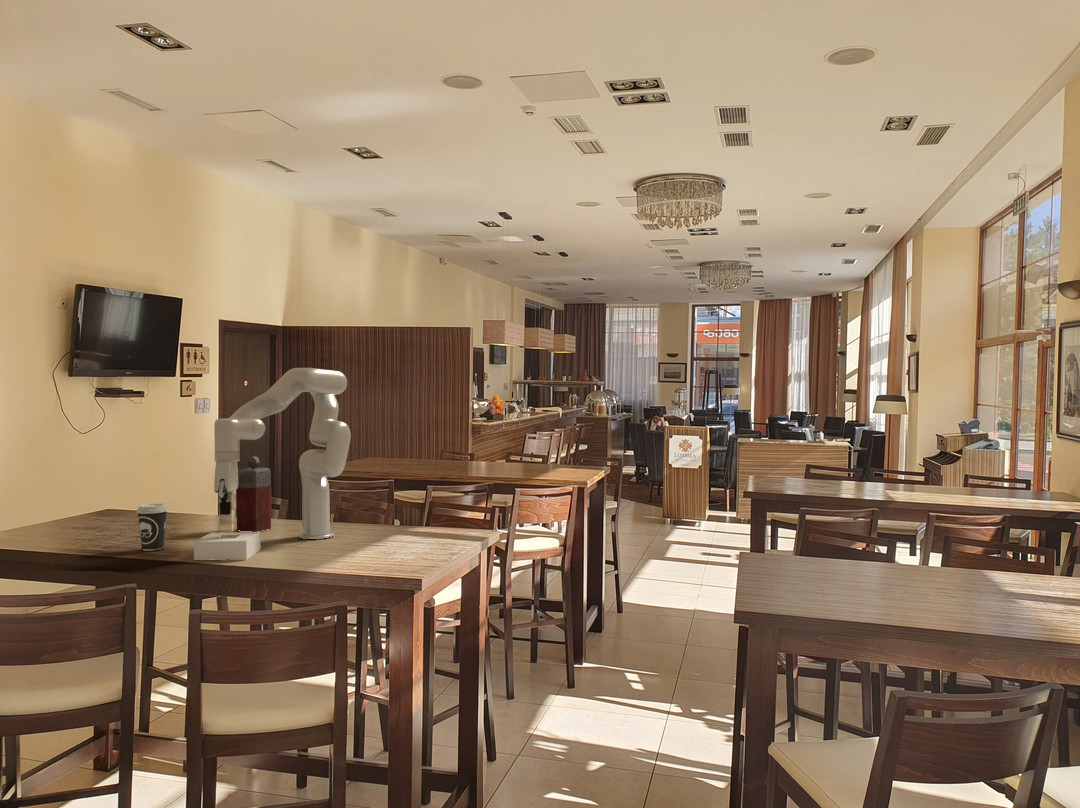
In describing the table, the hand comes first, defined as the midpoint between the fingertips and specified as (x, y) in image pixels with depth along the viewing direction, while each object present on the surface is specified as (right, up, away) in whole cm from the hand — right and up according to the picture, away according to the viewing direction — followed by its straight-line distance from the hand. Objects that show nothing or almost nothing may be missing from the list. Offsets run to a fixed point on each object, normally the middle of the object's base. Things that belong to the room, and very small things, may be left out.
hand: (227, 512), depth 254 cm
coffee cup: (-29, -14, +9) cm, 33 cm away
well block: (0, -14, 0) cm, 14 cm away
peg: (0, -6, 0) cm, 6 cm away
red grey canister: (-7, -13, +46) cm, 48 cm away
